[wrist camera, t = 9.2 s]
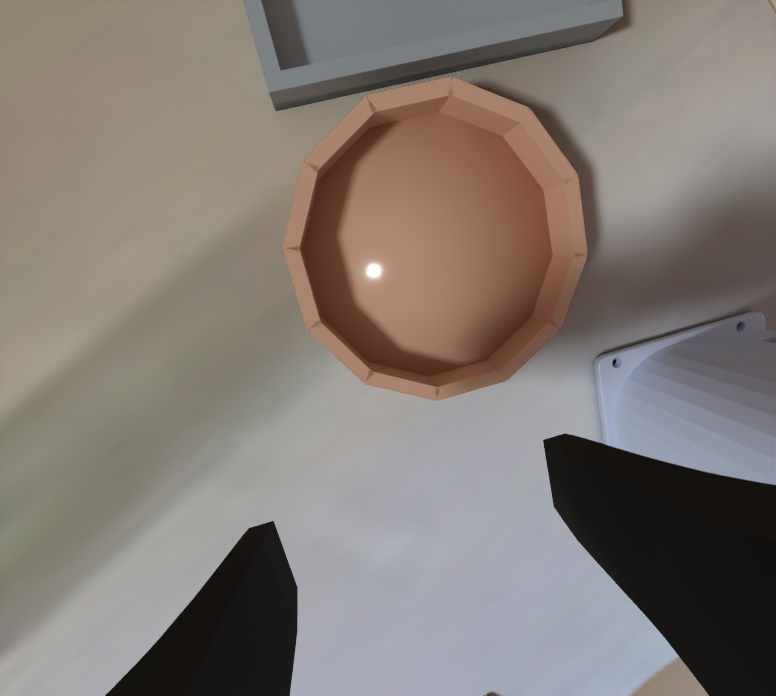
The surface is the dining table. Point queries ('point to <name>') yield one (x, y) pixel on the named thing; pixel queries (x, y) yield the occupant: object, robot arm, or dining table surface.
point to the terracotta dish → (436, 239)
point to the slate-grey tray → (406, 39)
